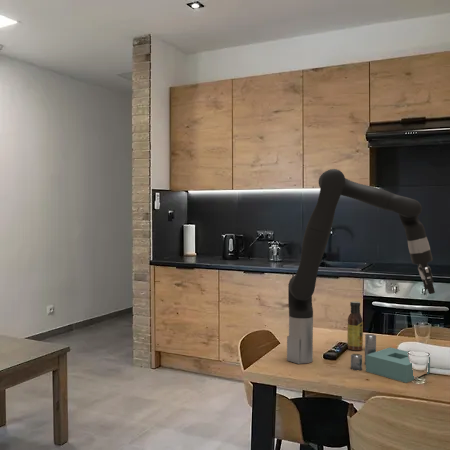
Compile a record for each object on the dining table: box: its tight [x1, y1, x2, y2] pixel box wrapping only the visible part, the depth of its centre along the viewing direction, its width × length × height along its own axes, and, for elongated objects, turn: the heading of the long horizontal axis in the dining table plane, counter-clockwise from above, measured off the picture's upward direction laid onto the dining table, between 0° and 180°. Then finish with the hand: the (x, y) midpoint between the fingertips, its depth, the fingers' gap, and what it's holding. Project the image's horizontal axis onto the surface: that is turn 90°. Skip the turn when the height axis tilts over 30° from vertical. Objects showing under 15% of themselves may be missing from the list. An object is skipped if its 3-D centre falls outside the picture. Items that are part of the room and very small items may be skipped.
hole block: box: [365, 347, 431, 384], centre depth 183 cm, size 16×16×6 cm
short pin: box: [350, 353, 363, 371], centre depth 187 cm, size 4×4×5 cm
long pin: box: [364, 333, 377, 365], centre depth 193 cm, size 4×4×11 cm
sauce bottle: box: [347, 300, 364, 352], centre depth 214 cm, size 7×6×20 cm
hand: (429, 291), depth 195 cm, fingers open, 8 cm apart
